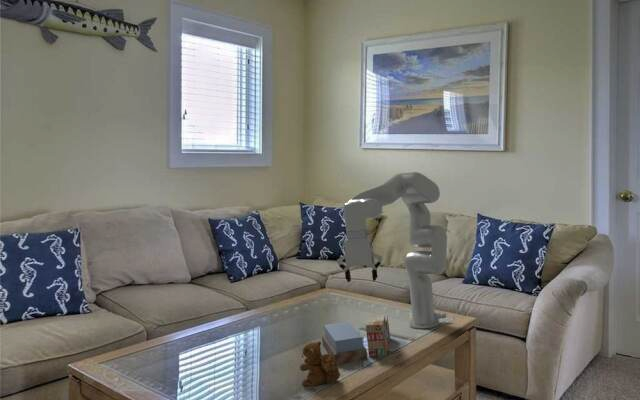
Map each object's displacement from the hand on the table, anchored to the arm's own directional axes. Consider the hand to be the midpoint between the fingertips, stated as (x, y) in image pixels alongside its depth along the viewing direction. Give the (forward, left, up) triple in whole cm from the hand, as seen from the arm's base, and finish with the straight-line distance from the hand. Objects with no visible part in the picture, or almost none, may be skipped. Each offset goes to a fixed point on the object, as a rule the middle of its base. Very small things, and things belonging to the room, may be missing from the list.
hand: (361, 280), depth 211 cm
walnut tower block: (+8, -7, -29) cm, 31 cm away
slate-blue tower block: (+8, -7, -24) cm, 26 cm away
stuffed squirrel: (+21, +19, -28) cm, 40 cm away
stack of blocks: (-6, -6, -28) cm, 30 cm away
